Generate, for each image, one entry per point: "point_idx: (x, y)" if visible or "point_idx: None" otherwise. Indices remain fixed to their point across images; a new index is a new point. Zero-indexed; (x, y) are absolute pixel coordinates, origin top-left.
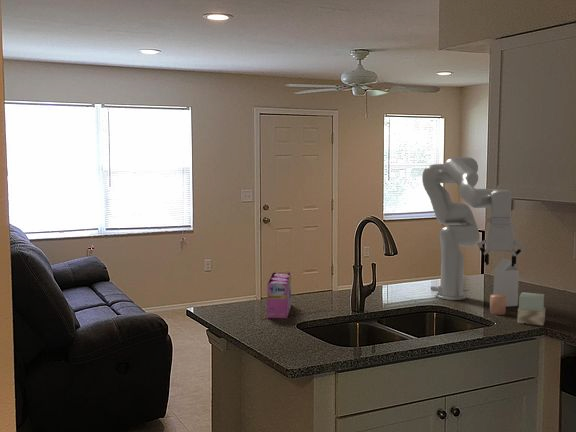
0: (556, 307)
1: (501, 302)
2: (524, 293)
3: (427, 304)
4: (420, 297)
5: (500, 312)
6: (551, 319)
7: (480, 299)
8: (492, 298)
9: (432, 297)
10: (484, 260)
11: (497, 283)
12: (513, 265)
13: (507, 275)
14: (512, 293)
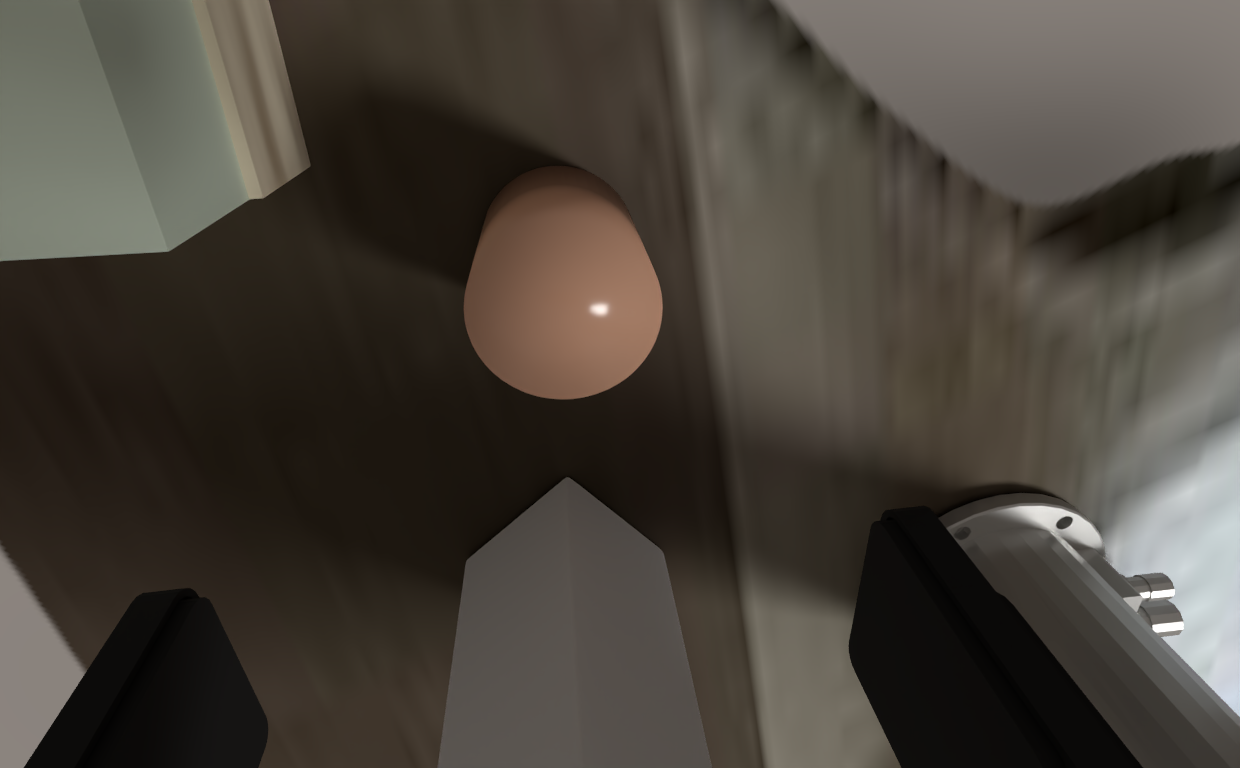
0: None
1: (503, 218)
2: (82, 171)
3: (1207, 262)
4: (1223, 472)
5: (514, 183)
6: None
7: (768, 617)
8: (617, 224)
9: (1126, 514)
10: (1025, 626)
11: (651, 675)
12: (129, 610)
13: (539, 757)
14: (495, 613)
